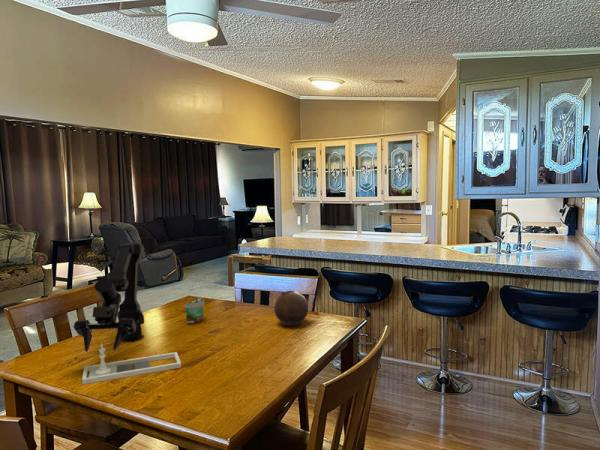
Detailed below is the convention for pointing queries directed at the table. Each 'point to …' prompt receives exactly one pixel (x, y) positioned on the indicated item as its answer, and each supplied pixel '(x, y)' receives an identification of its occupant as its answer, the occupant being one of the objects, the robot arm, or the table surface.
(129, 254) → the robot arm
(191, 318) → the food container
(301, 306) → the wooden sphere
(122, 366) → the trap box
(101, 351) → the chess piece
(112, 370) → the pad
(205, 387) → the table surface
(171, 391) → the table surface
